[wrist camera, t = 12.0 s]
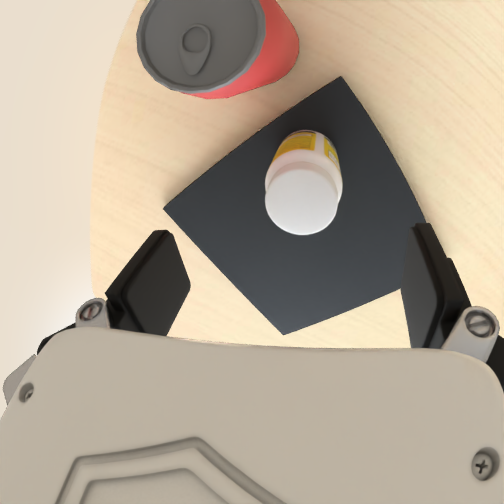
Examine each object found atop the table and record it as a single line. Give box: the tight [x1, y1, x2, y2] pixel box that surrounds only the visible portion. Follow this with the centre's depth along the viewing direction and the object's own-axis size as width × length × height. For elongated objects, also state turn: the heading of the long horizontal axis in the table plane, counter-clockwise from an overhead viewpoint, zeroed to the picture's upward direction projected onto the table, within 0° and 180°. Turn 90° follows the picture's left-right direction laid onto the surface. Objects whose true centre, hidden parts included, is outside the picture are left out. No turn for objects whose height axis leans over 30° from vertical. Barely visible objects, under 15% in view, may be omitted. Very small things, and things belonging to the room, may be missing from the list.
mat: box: [163, 76, 426, 335], centre depth 27 cm, size 20×20×1 cm
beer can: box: [136, 0, 299, 99], centre depth 14 cm, size 7×7×12 cm
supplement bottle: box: [265, 130, 342, 235], centre depth 19 cm, size 5×5×8 cm
